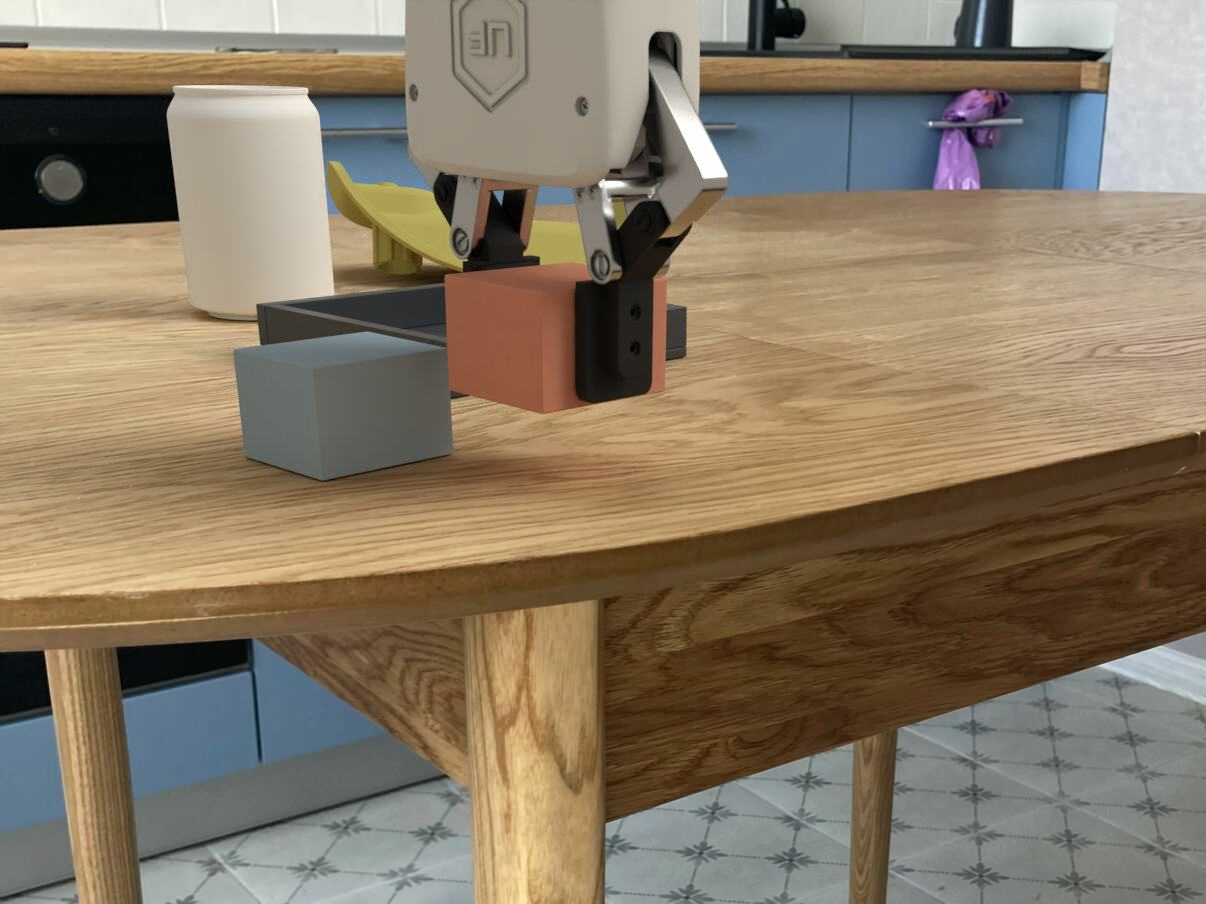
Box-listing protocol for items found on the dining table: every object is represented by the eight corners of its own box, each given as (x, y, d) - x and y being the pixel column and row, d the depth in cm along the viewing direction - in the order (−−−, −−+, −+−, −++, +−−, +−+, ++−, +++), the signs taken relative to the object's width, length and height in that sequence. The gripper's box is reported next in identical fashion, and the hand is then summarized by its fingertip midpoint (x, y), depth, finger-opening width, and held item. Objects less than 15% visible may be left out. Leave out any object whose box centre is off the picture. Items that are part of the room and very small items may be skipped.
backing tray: (260, 355, 77) (255, 303, 76) (499, 322, 88) (498, 276, 87) (446, 399, 68) (443, 341, 67) (686, 356, 79) (687, 306, 78)
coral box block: (447, 390, 55) (443, 274, 53) (571, 370, 59) (571, 261, 57) (542, 415, 52) (540, 292, 50) (665, 391, 56) (668, 278, 54)
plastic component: (608, 228, 112) (636, 174, 102) (610, 329, 112) (638, 284, 102) (325, 207, 107) (326, 148, 97) (327, 313, 106) (328, 264, 97)
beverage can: (161, 317, 87) (131, 86, 82) (243, 298, 94) (219, 84, 89) (287, 326, 85) (264, 90, 80) (361, 306, 92) (344, 87, 87)
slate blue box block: (244, 457, 58) (232, 349, 56) (375, 432, 62) (367, 331, 61) (322, 481, 55) (311, 368, 53) (454, 453, 59) (448, 347, 58)
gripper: (289, -206, 50) (329, 359, 58) (667, -248, 40) (655, 444, 48) (469, -178, 55) (484, 338, 63) (843, -208, 45) (807, 410, 53)
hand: (557, 378), depth 55 cm, fingers closed on coral box block, 5 cm apart
